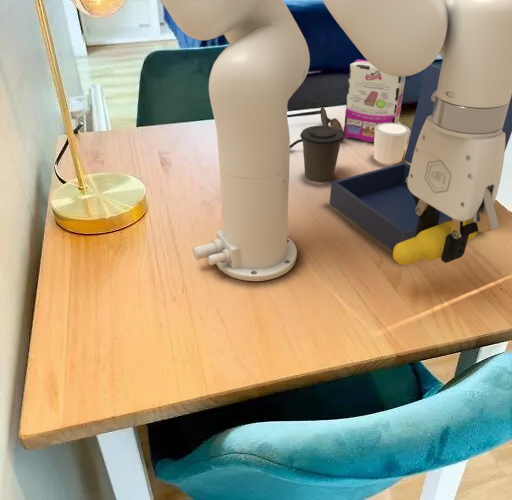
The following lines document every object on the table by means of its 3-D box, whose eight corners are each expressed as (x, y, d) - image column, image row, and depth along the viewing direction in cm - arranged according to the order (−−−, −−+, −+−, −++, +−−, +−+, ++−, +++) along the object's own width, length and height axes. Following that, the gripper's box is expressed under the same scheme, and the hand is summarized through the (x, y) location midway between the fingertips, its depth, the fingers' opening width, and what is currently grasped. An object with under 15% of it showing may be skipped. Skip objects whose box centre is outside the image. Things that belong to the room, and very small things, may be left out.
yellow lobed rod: (408, 277, 63) (412, 250, 60) (386, 260, 66) (389, 234, 63) (486, 245, 68) (493, 219, 65) (462, 231, 71) (468, 206, 68)
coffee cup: (293, 184, 96) (295, 135, 91) (303, 167, 103) (306, 119, 97) (335, 191, 94) (340, 140, 88) (343, 172, 101) (348, 124, 95)
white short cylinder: (405, 168, 102) (411, 135, 98) (371, 166, 103) (375, 133, 99) (403, 154, 107) (408, 122, 103) (370, 152, 108) (374, 121, 104)
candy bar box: (396, 139, 114) (409, 64, 105) (390, 147, 110) (402, 70, 101) (349, 130, 118) (357, 57, 109) (342, 138, 115) (349, 63, 105)
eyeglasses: (344, 146, 111) (347, 124, 108) (280, 154, 108) (280, 131, 105) (320, 122, 123) (322, 102, 120) (261, 129, 120) (261, 108, 117)
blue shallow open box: (398, 260, 76) (404, 233, 74) (329, 206, 90) (331, 181, 87) (476, 232, 83) (484, 206, 80) (400, 185, 96) (404, 161, 93)
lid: (521, 95, 70) (543, 93, 72) (427, 63, 84) (447, 62, 86) (483, 204, 79) (503, 199, 81) (403, 160, 93) (422, 156, 95)
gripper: (391, 98, 61) (373, 227, 71) (508, 147, 48) (466, 294, 59) (438, 87, 63) (414, 213, 74) (559, 131, 51) (511, 275, 62)
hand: (437, 248), depth 66 cm, fingers closed on yellow lobed rod, 4 cm apart
